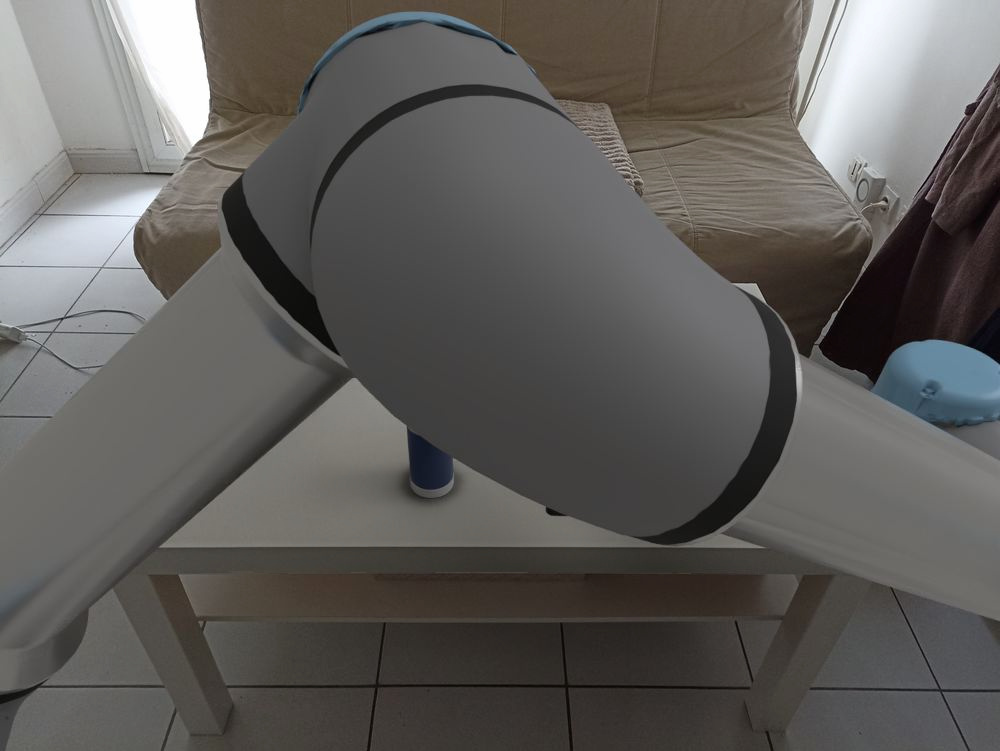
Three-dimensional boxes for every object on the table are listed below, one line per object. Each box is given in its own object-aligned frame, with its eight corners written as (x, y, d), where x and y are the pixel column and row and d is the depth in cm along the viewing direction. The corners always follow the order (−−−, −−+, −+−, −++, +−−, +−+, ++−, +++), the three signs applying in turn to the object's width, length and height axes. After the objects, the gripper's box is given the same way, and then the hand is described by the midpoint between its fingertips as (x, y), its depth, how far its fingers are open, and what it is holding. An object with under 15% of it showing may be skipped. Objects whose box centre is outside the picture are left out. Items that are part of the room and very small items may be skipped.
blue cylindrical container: (428, 505, 78) (424, 434, 72) (401, 480, 81) (395, 410, 75) (462, 483, 81) (462, 413, 75) (435, 460, 84) (432, 390, 78)
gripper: (700, 624, 55) (451, 521, 63) (769, 425, 73) (568, 362, 80) (720, 559, 51) (448, 456, 58) (789, 363, 68) (573, 303, 76)
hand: (517, 402), depth 69 cm, fingers open, 13 cm apart
